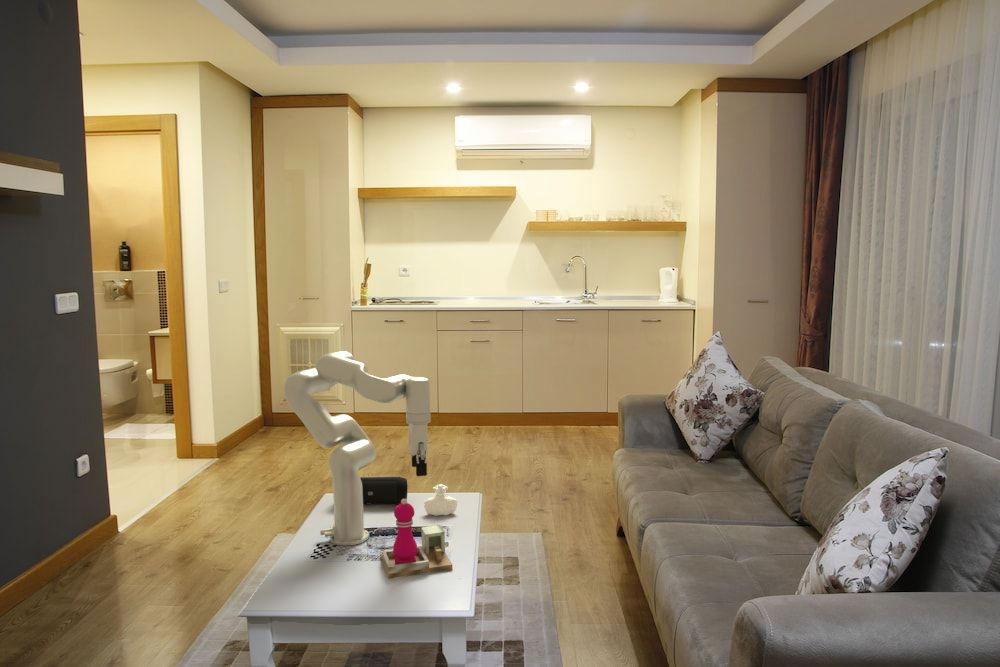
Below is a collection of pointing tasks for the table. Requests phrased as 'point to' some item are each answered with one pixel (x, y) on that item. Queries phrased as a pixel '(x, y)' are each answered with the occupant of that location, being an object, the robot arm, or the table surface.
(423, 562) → the stand
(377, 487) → the portable speaker
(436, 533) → the block
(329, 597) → the table surface
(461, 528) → the table surface
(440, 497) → the bust
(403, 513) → the pepper mill
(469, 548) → the table surface
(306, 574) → the table surface
